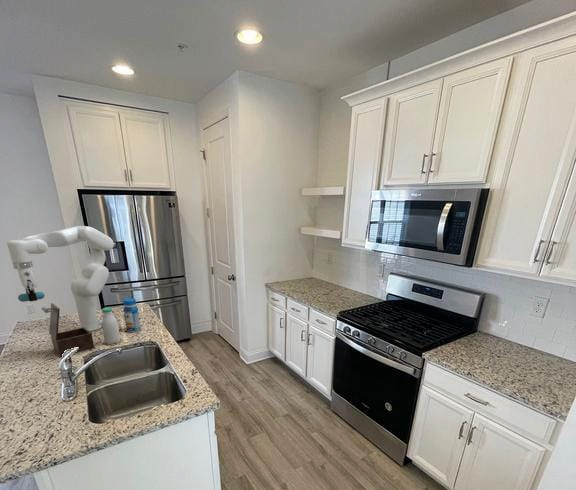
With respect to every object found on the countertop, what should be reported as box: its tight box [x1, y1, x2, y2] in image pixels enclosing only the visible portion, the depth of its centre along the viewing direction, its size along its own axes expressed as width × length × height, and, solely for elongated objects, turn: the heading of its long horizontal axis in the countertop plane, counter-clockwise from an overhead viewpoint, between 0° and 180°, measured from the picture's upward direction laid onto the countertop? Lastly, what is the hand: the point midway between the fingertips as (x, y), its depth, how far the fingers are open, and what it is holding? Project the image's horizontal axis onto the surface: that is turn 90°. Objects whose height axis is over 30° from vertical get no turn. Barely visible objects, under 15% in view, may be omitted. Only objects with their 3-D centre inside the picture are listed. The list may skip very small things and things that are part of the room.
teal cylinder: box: [17, 291, 45, 303], centre depth 162 cm, size 11×4×4 cm, turn 137°
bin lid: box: [41, 302, 61, 341], centre depth 156 cm, size 16×13×5 cm
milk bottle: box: [101, 307, 121, 345], centre depth 174 cm, size 8×8×20 cm
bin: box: [50, 327, 95, 358], centre depth 166 cm, size 16×13×9 cm
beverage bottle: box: [122, 297, 142, 333], centre depth 192 cm, size 8×8×20 cm
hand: (32, 299), depth 163 cm, fingers closed on teal cylinder, 4 cm apart
